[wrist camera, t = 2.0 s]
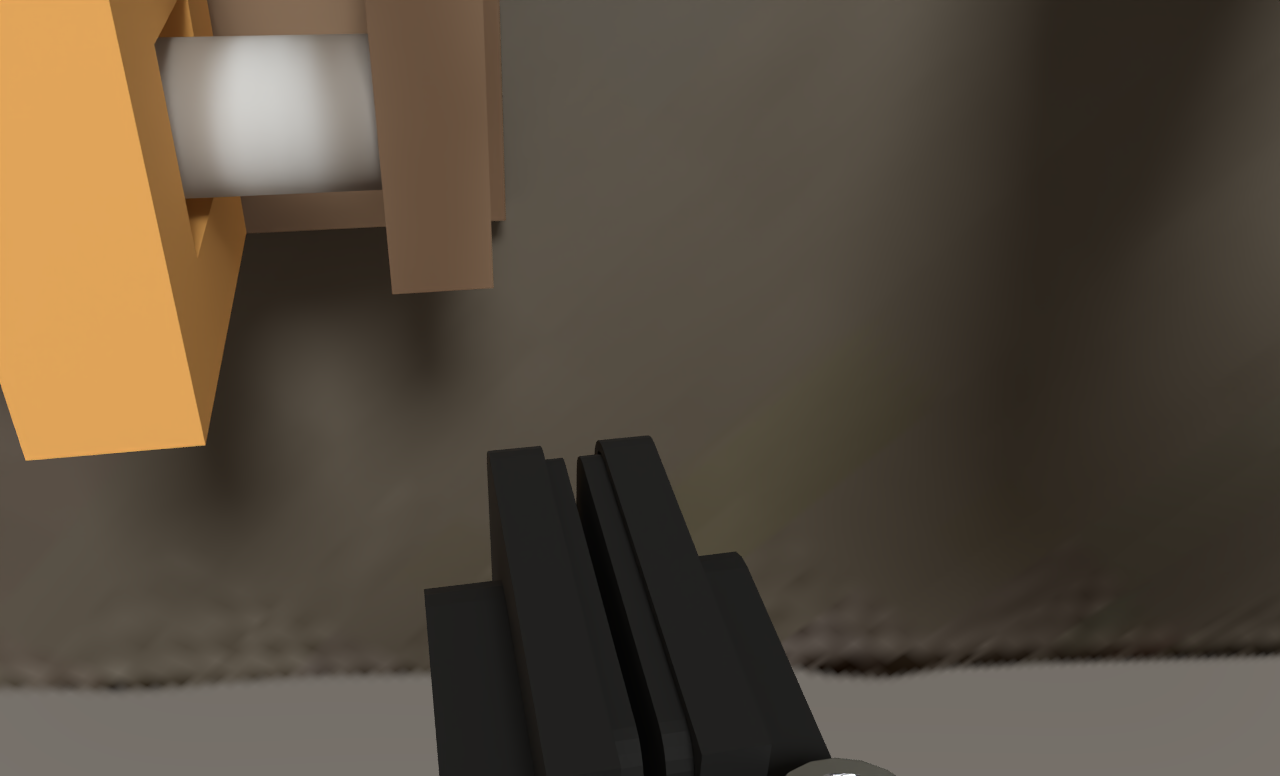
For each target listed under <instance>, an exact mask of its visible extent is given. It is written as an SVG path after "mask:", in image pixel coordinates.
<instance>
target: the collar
mask: <svg viewBox="0 0 1280 776" xmlns="http://www.w3.org/2000/svg"><path fill="white" fill-rule="evenodd" d="M207 36H213V32H212V26H211V20H210V14H209V9H208V3H207V0H0V384H1V387H2V390H3V393H4V396H5V399H6V402H7V405H8V408H9V411H10V414H11V417H12V420H13V423H14V426H15V429H16V432H17V435H18V438H19V441H20V445H21V448H22V451H23V454H24V457H25V460H26V461H28V460H39V459H51V458H62V457H74V456H86V455H97V454H109V453H120V452H132V451H144V450H155V449H167V448H178V447H190V446H202V445H206V440H207V434H208V429H209V424H210V419H211V414H212V408H213V403H214V398H215V393H216V388H217V382H218V377H219V372H220V367H221V362H222V357H223V351H224V346H225V341H226V336H227V331H228V325H229V320H230V315H231V310H232V305H233V300H234V294H235V289H236V284H237V279H238V274H239V268H240V263H241V258H242V253H243V248H244V242H245V237H246V227H245V221H244V215H243V209H242V203H241V197H240V196H234V197H212V198H190V199H185V196H184V191H183V186H182V181H181V176H180V171H179V166H178V161H177V156H176V151H175V146H174V141H173V136H172V131H171V126H170V121H169V116H168V111H167V106H166V101H165V96H164V91H163V86H162V81H161V76H160V71H159V66H158V61H157V56H156V51H155V46H154V44H155V42H156V40H157V38H158V37H207Z"/></svg>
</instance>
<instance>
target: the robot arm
mask: <svg viewBox="0 0 1280 776" xmlns="http://www.w3.org/2000/svg"><path fill="white" fill-rule="evenodd" d="M487 474H488V495H489V517H490V539H491V561H492V581H489V582H481V583H472V584H464V585H456V586H448V587H439V588H431V589H424V594H425V607H426V619H427V631H428V643H429V655H430V667H431V679H432V690H433V703H434V715H435V727H436V740H437V752H438V764H439V775H440V776H896V775H894V774H893V773H891V772H890V771H888V770H886V769H883V768H880V767H877V766H875V765H872V764H869V763H867V762H864V761H860V760H850V759H841V758H831V756H830V754H829V751H828V749H827V747H826V745H825V743H824V740H823V738H822V736H821V733H820V731H819V729H818V727H817V724H816V722H815V720H814V717H813V715H812V713H811V710H810V708H809V706H808V704H807V701H806V699H805V697H804V695H803V692H802V690H801V688H800V685H799V683H798V681H797V679H796V676H795V674H794V672H793V670H792V667H791V665H790V663H789V660H788V658H787V656H786V654H785V651H784V649H783V647H782V645H781V642H780V640H779V638H778V636H777V633H776V631H775V629H774V626H773V624H772V622H771V620H770V617H769V615H768V613H767V611H766V608H765V606H764V604H763V601H762V599H761V597H760V595H759V592H758V590H757V588H756V586H755V583H754V581H753V579H752V576H751V574H750V572H749V570H748V567H747V566H746V564H745V562H744V560H743V558H742V557H741V556H740V555H739V554H738V553H737V552H729V553H721V554H713V555H705V556H698V554H697V551H696V549H695V546H694V543H693V541H692V538H691V536H690V533H689V531H688V528H687V526H686V523H685V520H684V518H683V515H682V513H681V510H680V508H679V505H678V503H677V500H676V497H675V495H674V492H673V490H672V487H671V485H670V482H669V480H668V477H667V474H666V472H665V469H664V467H663V464H662V462H661V459H660V457H659V454H658V451H657V449H656V446H655V444H654V442H653V440H652V438H651V437H650V436H638V437H628V438H618V439H607V440H598V441H597V442H596V446H595V455H587V456H579V457H578V460H577V497H576V502H575V498H574V495H573V491H572V487H571V484H570V480H569V476H568V473H567V469H566V465H565V462H564V459H563V458H557V459H547V460H545V457H544V453H543V450H542V448H541V446H535V447H525V448H515V449H504V450H494V451H488V452H487Z"/></svg>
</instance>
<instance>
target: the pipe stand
mask: <svg viewBox="0 0 1280 776" xmlns="http://www.w3.org/2000/svg"><path fill="white" fill-rule="evenodd" d="M207 3H208V9H209V14H210V20H211V26H212V32H213V36H207V37H158V38H157V40H156V42H155V44H154V46H155V51H156V56H157V61H158V66H159V71H160V76H161V81H162V86H163V91H164V96H165V101H166V106H167V111H168V116H169V121H170V126H171V131H172V136H173V141H174V146H175V151H176V156H177V161H178V166H179V171H180V176H181V181H182V186H183V191H184V196H185V199H190V198H212V197H234V196H240V197H241V203H242V209H243V215H244V221H245V227H246V234H250V233H269V232H289V231H308V230H328V229H347V228H367V227H386V232H387V243H388V253H389V264H390V275H391V285H392V294H405V293H421V292H437V291H453V290H469V289H485V288H494V287H493V261H492V234H491V221H503V220H506V211H505V177H504V143H503V108H502V74H501V40H500V6H499V0H207Z"/></svg>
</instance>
